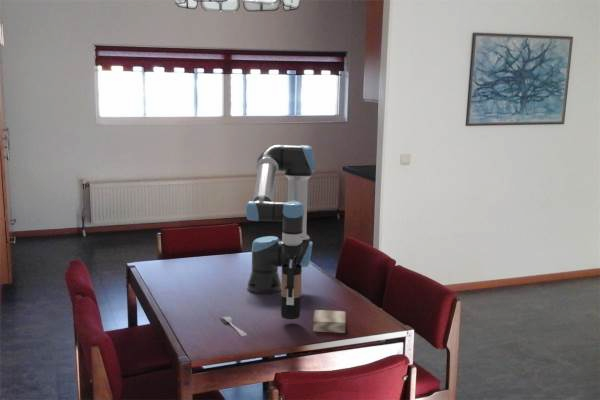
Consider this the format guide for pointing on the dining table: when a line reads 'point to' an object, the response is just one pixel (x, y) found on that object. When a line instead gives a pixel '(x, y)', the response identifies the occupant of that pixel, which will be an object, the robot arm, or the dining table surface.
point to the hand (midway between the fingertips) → (290, 300)
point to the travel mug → (294, 310)
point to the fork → (234, 326)
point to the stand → (329, 321)
